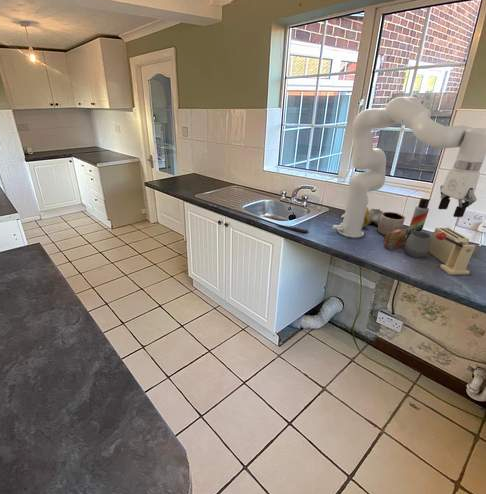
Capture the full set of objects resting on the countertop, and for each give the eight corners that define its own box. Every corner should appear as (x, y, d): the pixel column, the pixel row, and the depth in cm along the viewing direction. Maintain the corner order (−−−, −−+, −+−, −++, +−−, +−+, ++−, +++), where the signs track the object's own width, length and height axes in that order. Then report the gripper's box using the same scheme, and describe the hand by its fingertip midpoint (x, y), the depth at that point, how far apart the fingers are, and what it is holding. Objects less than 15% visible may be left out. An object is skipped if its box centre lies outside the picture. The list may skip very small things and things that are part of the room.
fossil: (374, 207, 184) (394, 201, 169) (380, 224, 183) (400, 220, 169) (350, 215, 180) (368, 210, 165) (356, 233, 179) (375, 229, 165)
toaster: (445, 264, 132) (455, 239, 126) (427, 251, 142) (435, 227, 137) (459, 264, 132) (469, 239, 126) (439, 251, 142) (448, 227, 137)
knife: (277, 224, 170) (275, 226, 168) (278, 223, 170) (275, 224, 168) (307, 231, 162) (305, 233, 160) (308, 230, 162) (306, 232, 159)
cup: (411, 260, 135) (418, 239, 130) (398, 250, 143) (404, 230, 139) (431, 258, 136) (439, 238, 131) (416, 249, 144) (423, 229, 140)
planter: (395, 229, 165) (400, 212, 161) (403, 237, 155) (409, 220, 151) (374, 227, 166) (378, 211, 162) (381, 236, 157) (385, 218, 152)
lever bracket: (449, 274, 124) (461, 246, 119) (439, 266, 130) (450, 239, 124) (469, 274, 125) (481, 246, 119) (458, 266, 130) (469, 239, 124)
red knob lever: (438, 239, 119) (444, 232, 117) (432, 236, 121) (438, 229, 120) (466, 253, 122) (472, 246, 120) (460, 249, 125) (466, 243, 123)
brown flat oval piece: (386, 251, 142) (391, 235, 138) (380, 248, 145) (384, 232, 141) (406, 244, 148) (411, 228, 145) (400, 241, 151) (405, 226, 147)
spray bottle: (405, 235, 157) (417, 198, 148) (408, 232, 161) (420, 195, 152) (418, 238, 154) (431, 201, 145) (420, 235, 158) (433, 198, 149)
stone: (371, 222, 168) (369, 229, 161) (351, 224, 174) (348, 231, 166) (368, 200, 164) (367, 206, 156) (348, 202, 170) (345, 209, 162)
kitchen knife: (352, 210, 191) (349, 209, 192) (353, 208, 190) (349, 208, 191) (342, 218, 178) (339, 218, 180) (342, 217, 178) (339, 216, 179)
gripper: (439, 160, 115) (425, 205, 123) (476, 171, 100) (457, 221, 108) (459, 160, 115) (443, 205, 123) (499, 171, 100) (478, 221, 108)
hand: (449, 212), depth 115 cm, fingers open, 7 cm apart
